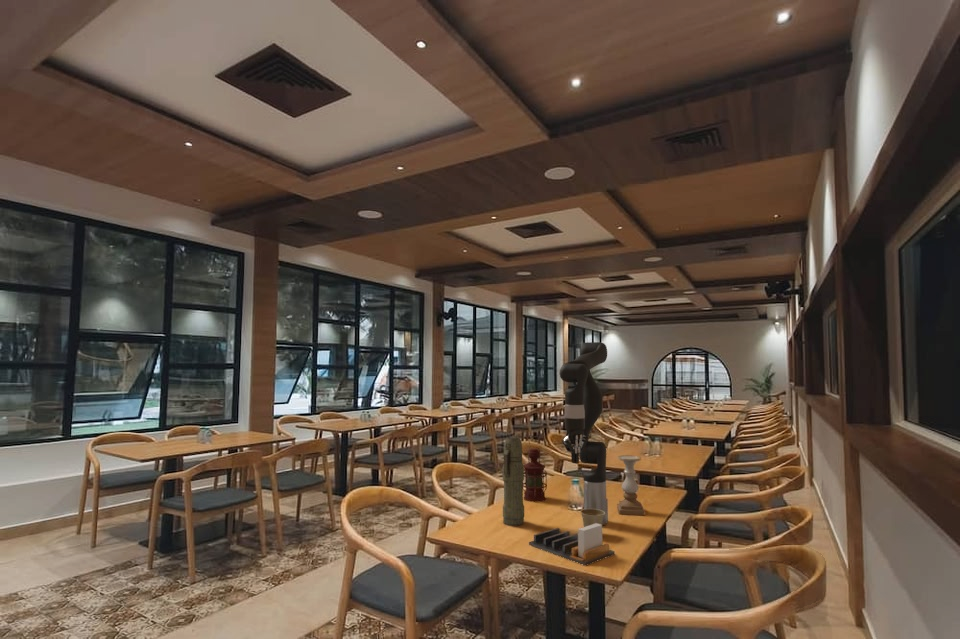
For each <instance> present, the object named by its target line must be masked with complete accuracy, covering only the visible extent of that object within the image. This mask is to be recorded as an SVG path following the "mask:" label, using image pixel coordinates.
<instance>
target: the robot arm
mask: <svg viewBox="0 0 960 639" xmlns="http://www.w3.org/2000/svg"><path fill="white" fill-rule="evenodd" d="M607 357H608V349H607V345H606V344H605V343H604V342H599V341H596V342H595V341H593V342H590V341H588V342H582V343H581V345H580V350H579V356H577V357H576V358H575V359H574V360H570V361H567V362H565V363H563V364H562V365H561V367H560V369H559V377H560V379H561V380H562V381H563V382H565V383H577V384H576V386H575V387H572V388H567V389H565V391H564V429H565V430H566V433H565V437H564V438H562V439H561V443H562V444H563V447H564V448H565V449H566V451H567V452H568V453H570V454H571V456H570V458H571V463H572V464H578V463H580V462H581V463H583V464H589V465H597V467H595V468H594V469H592V470H589V471H586V472H583V479H582V480H583V509H598V510H602V511H604V512H605V515H604V518H603V522H602V526H605V525H607V524H608V522H609V506H608V505H609V504H608V502H609V501H608V497H607V447H606V443H604V442H603V441H594V440H593V441H592V440H589V438H590V435H591V431H592V429H593V427H594V426H595V424H596V422H597V420H598V419H599V418H600V416H601V414H602V412H603V409H604V408H603V407H604V406H603V403H604V399H603V398H604V397H603V396H604V395H603V393H602V390H601V388H600V387H599V385H598V383H597V382H596V381H595V379H594V377H593V375H592V372H591V369H593V368H595V367H597V366H599V365H600V364H603V363H605V362H606V361H607Z"/></svg>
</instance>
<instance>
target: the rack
mask: <svg viewBox="0 0 960 639" xmlns="http://www.w3.org/2000/svg"><path fill="white" fill-rule="evenodd" d="M560 530H561V528H559V527H554V528H553V529H549V530H545V531H542V532H539V533H536V534H533V540H531V541H529V542H528V545H529V546H530V545H531V547H532V548H533V547H534V548H536V549H538V550H539V549H540V550H541V549H542V551H544V550H545V551H544V552H547V551H548V552H547V553H549V552H550V554H552V553H553V554H552V555H555V556H557V555H558V556H557V557H560V556H561V557H560V558H563V557H564V558H563V559H565V558H566V560H568V559H569V560H568V561H571V560H572V561H571V562H573V561H575V562H574V563H576V562H578V563H577V564H579V563H580V564H579V565H581V564H583V565H582V566H584V565H586V566H588V565H587V564H589V565H591V564H593V563H592V562H594V563H596V562H598V561H597V560H599V561H601V560H604V559H606V558H605V557H607V558H609V557H612V556H613V555H615V554H616V553H615V551H614V550H611V549H610V544H609V543H604V544H602V546H599V547H596V548H593V549H591V550H588V551H585V552H583V558H582V557H579V556H578V533H573V534H571V532H570V530H567V531H563V532H560ZM570 534H571V535H570ZM611 555H612V556H611ZM608 556H609V557H608ZM603 558H604V559H603ZM600 559H601V560H600ZM595 561H596V562H595ZM590 563H591V564H590Z"/></svg>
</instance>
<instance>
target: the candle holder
mask: <svg viewBox="0 0 960 639" xmlns="http://www.w3.org/2000/svg"><path fill="white" fill-rule="evenodd" d="M617 459H618V461H622V462H623V464H624V465H625V468H624V469H623V473H624V475H625V479H624V481H623V482H622V484H621V490H622V491H623V492H624V493H623V494H622V496H623V499H622V500H619V502H618V503H617V504H616V506H617V512H618V514H619V515H621V516H622V515H624V516H645V514H646V513H645V509H644V506H643V505H642V502H641V501H639V500H638V494H637V492H638V491H639V485H638V483H637V482H636V480H635V477H634V476H635V474H636V473H637V472H636V470H635V465H636V462H640V461H642V457H640V456H638V455H628V454H627V455H626V454H625V455H618V456H617Z"/></svg>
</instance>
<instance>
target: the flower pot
mask: <svg viewBox="0 0 960 639" xmlns="http://www.w3.org/2000/svg"><path fill="white" fill-rule="evenodd" d="M579 512H580V514H581V517H582V523H583V524H582V525H583V527H586V526H589V525H592V524H596V523H597V524H601V525H602V522H603V518H604V515H605V512H604V511H602V510H598V509H584V508H583V509H580V510H579ZM602 526H603V525H602Z"/></svg>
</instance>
